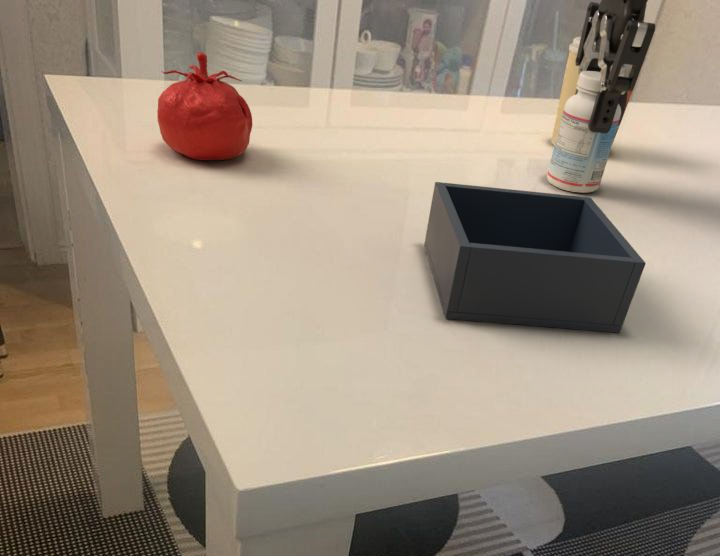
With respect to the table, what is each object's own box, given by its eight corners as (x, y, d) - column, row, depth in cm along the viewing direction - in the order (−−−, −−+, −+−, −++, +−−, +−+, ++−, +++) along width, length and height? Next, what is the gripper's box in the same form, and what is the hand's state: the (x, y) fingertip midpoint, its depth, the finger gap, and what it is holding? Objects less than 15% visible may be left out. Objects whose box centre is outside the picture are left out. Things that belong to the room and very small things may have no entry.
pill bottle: (583, 177, 87) (614, 71, 80) (607, 195, 83) (642, 84, 76) (536, 175, 86) (564, 66, 79) (558, 193, 81) (589, 80, 74)
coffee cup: (603, 163, 93) (636, 55, 85) (534, 144, 96) (561, 39, 89) (623, 149, 100) (656, 48, 92) (558, 132, 103) (585, 33, 95)
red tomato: (179, 171, 73) (174, 66, 67) (143, 141, 79) (136, 42, 73) (269, 165, 77) (272, 66, 72) (228, 136, 84) (228, 43, 78)
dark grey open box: (571, 259, 67) (590, 197, 63) (620, 333, 56) (646, 263, 53) (423, 246, 65) (435, 181, 61) (445, 318, 55) (460, 245, 51)
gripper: (712, -56, 64) (644, 146, 75) (654, -67, 75) (601, 110, 86) (631, -68, 64) (573, 138, 74) (584, -78, 75) (539, 103, 85)
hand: (588, 122), depth 80 cm, fingers closed on pill bottle, 6 cm apart
